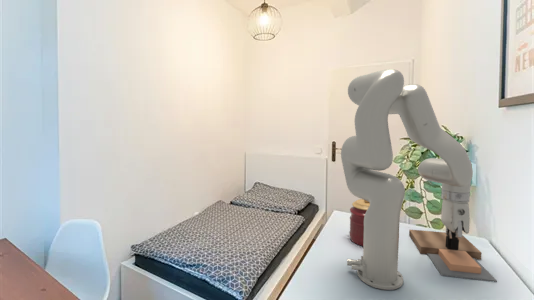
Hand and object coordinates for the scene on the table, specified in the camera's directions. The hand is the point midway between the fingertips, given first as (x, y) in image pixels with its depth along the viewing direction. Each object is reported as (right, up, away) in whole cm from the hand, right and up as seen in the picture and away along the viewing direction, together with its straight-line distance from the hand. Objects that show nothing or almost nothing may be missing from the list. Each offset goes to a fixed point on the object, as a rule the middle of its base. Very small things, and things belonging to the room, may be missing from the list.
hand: (451, 248), depth 88 cm
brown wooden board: (+2, -2, +8) cm, 9 cm away
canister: (-23, -2, +15) cm, 27 cm away
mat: (-1, -4, -5) cm, 7 cm away
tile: (-1, -3, -4) cm, 5 cm away
